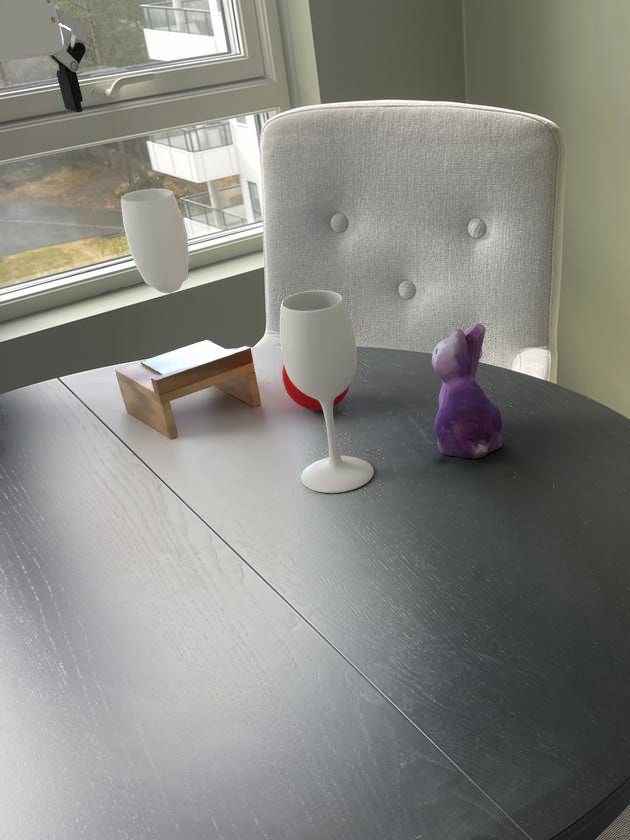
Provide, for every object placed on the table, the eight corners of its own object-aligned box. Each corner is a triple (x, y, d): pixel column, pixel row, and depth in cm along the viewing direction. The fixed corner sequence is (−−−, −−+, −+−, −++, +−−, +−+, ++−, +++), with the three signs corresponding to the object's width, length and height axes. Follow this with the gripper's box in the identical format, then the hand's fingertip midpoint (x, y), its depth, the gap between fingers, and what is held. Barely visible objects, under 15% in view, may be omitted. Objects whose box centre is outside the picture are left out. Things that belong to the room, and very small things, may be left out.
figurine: (444, 421, 126) (437, 306, 117) (516, 433, 123) (514, 316, 114) (410, 452, 120) (399, 334, 111) (485, 467, 116) (480, 345, 107)
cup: (224, 359, 130) (189, 193, 117) (176, 376, 126) (135, 206, 113) (194, 345, 134) (157, 184, 121) (148, 362, 130) (104, 196, 117)
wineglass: (383, 461, 118) (363, 288, 105) (360, 496, 112) (336, 316, 99) (316, 455, 120) (289, 285, 107) (290, 490, 113) (257, 313, 100)
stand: (126, 412, 132) (110, 355, 127) (215, 380, 140) (203, 325, 135) (170, 439, 125) (155, 380, 120) (261, 404, 133) (250, 347, 128)
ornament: (305, 428, 126) (293, 354, 120) (277, 404, 132) (264, 333, 126) (366, 410, 130) (357, 337, 124) (336, 387, 136) (326, 317, 130)
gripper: (47, -73, 107) (90, 102, 117) (-118, -64, 98) (-55, 125, 108) (78, -72, 102) (119, 109, 113) (-92, -63, 93) (-30, 134, 104)
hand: (34, 117), depth 111 cm, fingers open, 9 cm apart
